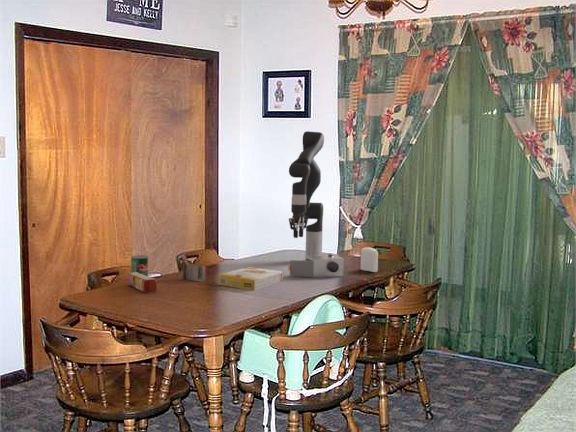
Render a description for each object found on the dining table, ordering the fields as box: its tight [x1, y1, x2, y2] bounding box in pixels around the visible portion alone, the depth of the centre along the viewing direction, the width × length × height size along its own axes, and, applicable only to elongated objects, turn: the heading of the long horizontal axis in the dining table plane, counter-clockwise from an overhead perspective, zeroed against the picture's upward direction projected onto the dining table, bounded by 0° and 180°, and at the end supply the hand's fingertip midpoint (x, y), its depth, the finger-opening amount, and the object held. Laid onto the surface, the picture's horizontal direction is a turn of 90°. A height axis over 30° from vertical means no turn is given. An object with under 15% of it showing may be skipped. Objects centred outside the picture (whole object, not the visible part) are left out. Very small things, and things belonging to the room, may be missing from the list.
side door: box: [287, 259, 314, 278], centre depth 356 cm, size 12×2×8 cm, turn 78°
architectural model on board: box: [182, 260, 206, 282], centre depth 344 cm, size 11×3×10 cm, turn 63°
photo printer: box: [360, 246, 379, 273], centre depth 377 cm, size 10×4×12 cm, turn 39°
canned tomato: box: [130, 254, 149, 277], centre depth 343 cm, size 8×8×11 cm
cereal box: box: [217, 266, 284, 291], centre depth 339 cm, size 20×6×28 cm
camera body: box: [306, 253, 345, 278], centre depth 363 cm, size 14×16×10 cm
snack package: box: [126, 272, 158, 294], centre depth 321 cm, size 21×7×7 cm, turn 33°
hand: (298, 237), depth 361 cm, fingers open, 3 cm apart
